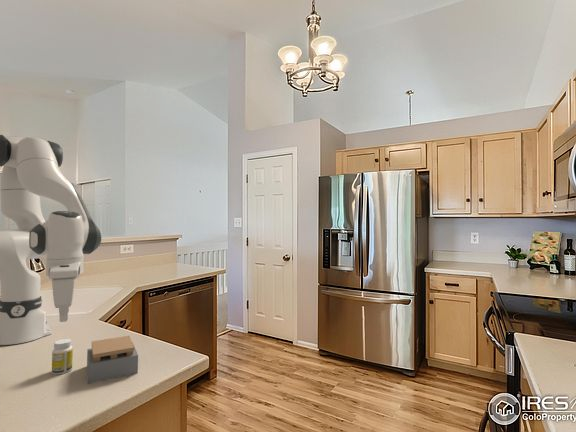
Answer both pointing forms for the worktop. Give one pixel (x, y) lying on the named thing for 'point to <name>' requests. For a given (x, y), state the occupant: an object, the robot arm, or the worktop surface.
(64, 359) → the supplement bottle
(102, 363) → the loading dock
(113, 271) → the worktop surface
